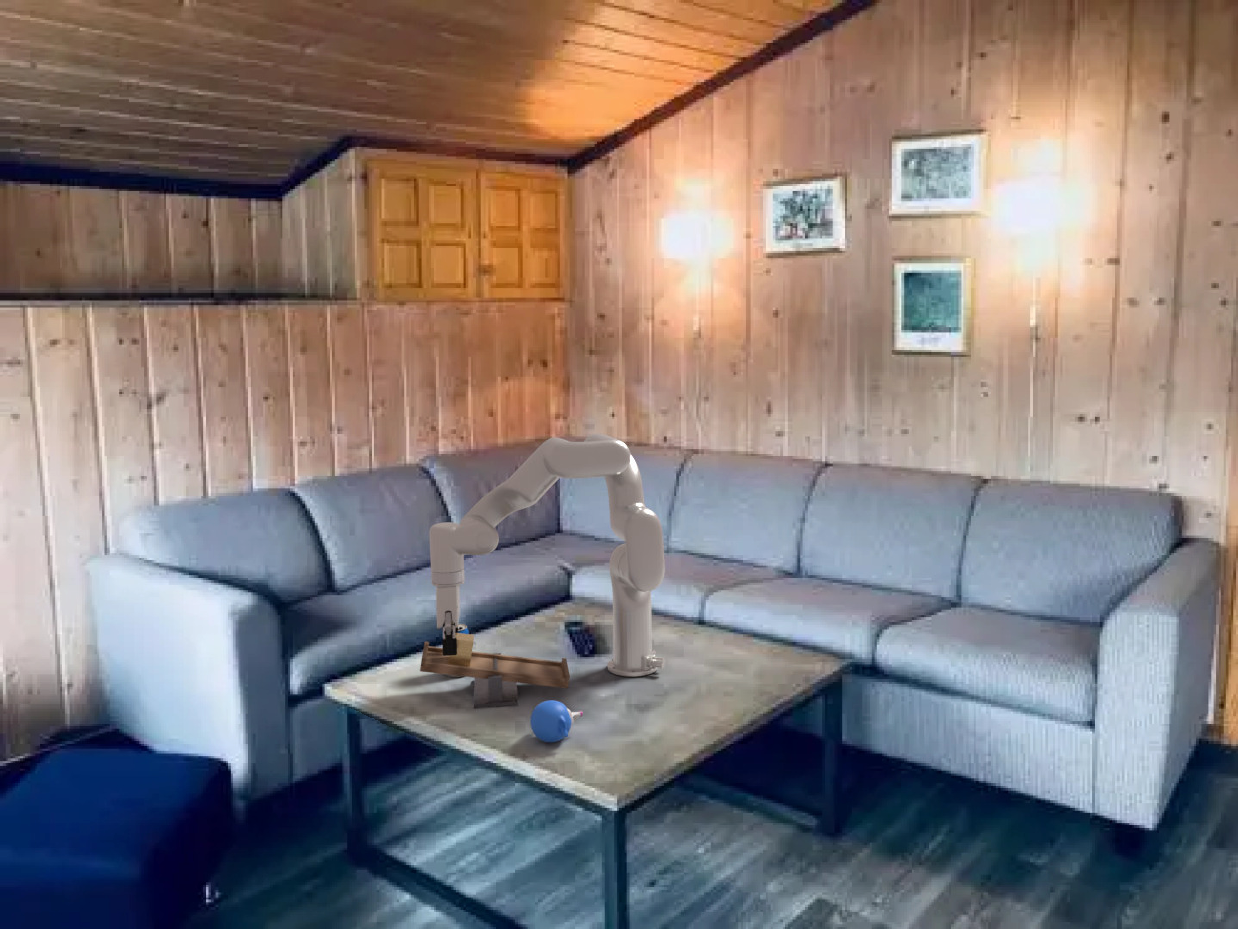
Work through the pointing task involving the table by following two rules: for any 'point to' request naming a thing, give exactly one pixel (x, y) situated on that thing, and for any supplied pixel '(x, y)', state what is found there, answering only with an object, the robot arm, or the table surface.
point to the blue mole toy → (552, 721)
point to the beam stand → (494, 692)
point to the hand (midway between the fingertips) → (450, 648)
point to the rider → (462, 650)
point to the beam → (499, 667)
